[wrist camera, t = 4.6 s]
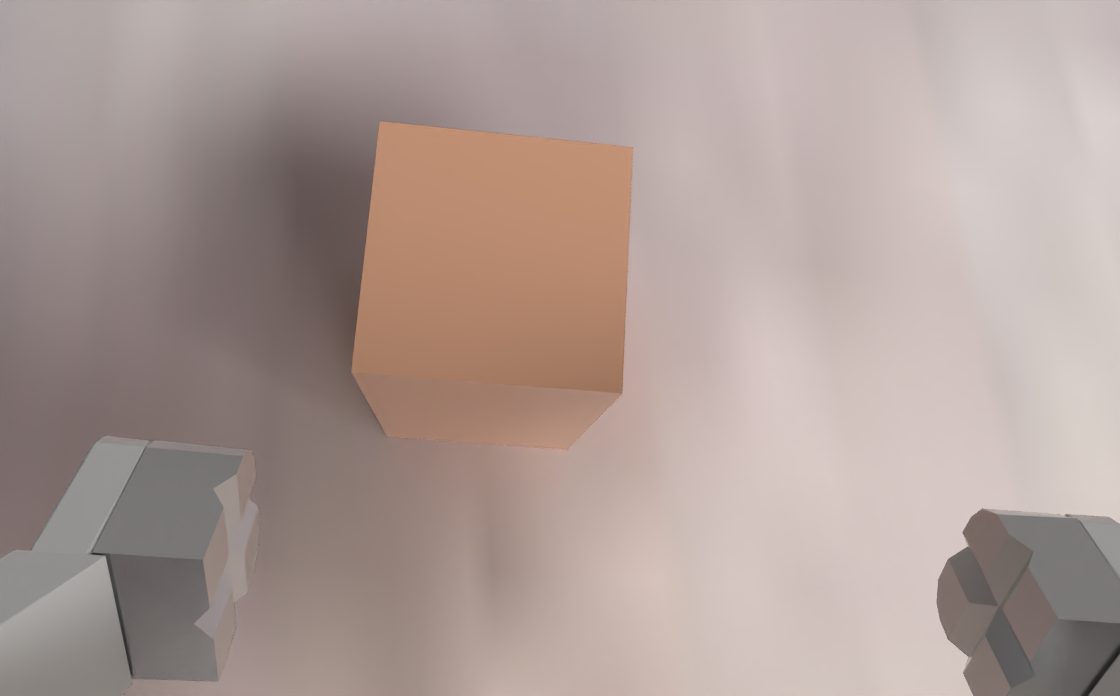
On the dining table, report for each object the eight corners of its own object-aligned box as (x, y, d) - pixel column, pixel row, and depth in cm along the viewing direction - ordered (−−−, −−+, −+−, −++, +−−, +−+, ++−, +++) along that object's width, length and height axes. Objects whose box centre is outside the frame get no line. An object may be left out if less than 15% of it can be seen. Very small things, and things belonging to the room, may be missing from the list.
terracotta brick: (567, 449, 23) (621, 393, 15) (387, 436, 23) (351, 371, 15) (577, 279, 24) (632, 146, 17) (404, 264, 24) (379, 121, 16)
